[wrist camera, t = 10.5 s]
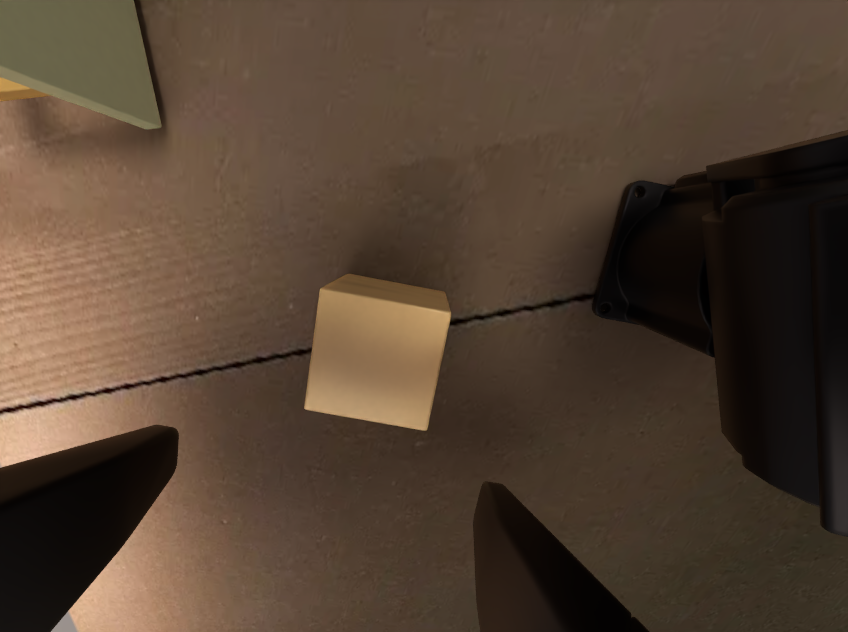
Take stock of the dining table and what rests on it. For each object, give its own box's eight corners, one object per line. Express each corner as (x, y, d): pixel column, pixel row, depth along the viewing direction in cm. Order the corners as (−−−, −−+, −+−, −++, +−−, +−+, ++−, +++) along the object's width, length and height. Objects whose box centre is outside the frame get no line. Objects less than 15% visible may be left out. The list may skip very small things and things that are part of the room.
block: (427, 384, 20) (426, 431, 16) (333, 367, 20) (303, 410, 15) (445, 291, 19) (452, 312, 15) (346, 272, 19) (319, 287, 14)
